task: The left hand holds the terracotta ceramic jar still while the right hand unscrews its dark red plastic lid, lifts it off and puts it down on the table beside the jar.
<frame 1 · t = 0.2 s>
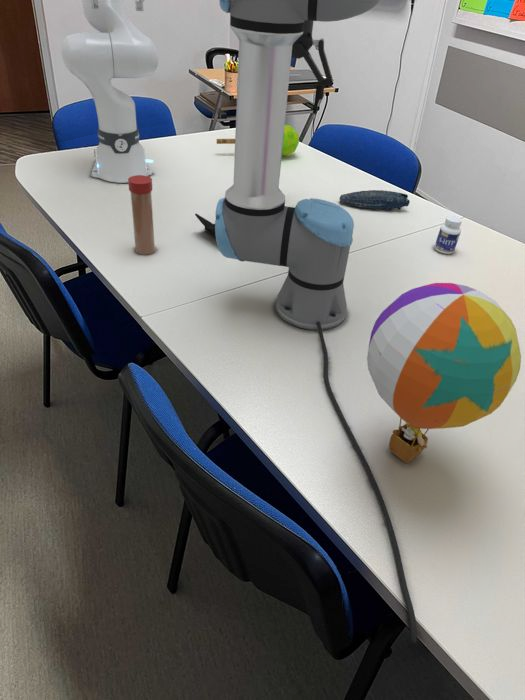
left hand: (117, 9, 113), 48 cm above the table, tool pointing down, fingers open, 8 cm apart
right hand: (288, 109, 135), 28 cm above the table, tool pointing down, fingers open, 13 cm apart
toy: (403, 453, 83), on the table
pill bottle: (443, 250, 140), on the table
handheld gaming console: (221, 237, 137), on the table
fish model: (372, 206, 160), on the table
jar: (145, 250, 128), on the table
lid: (140, 181, 117), point 17 cm above the table, screwed on, not yet turned
decorative tree: (257, 155, 189), on the table
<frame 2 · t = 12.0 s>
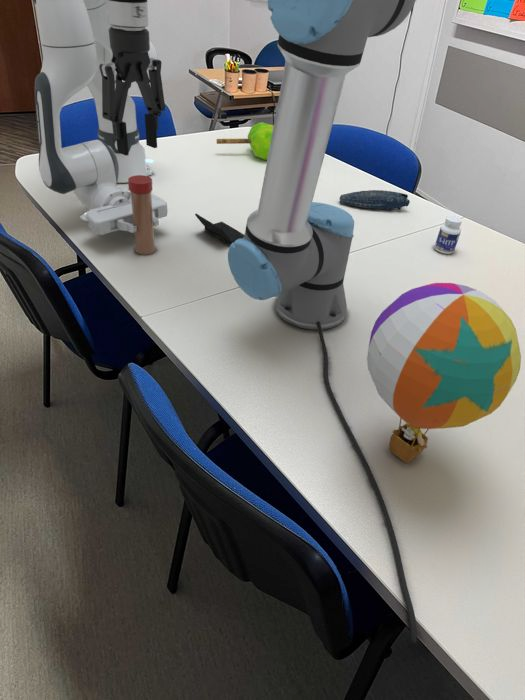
left hand: (145, 226, 124), 7 cm above the table, tool horizontal, fingers closed on jar, 5 cm apart
right hand: (137, 149, 113), 24 cm above the table, tool pointing down, fingers open, 7 cm apart
jar: (145, 250, 128), on the table, touching left hand
everything else where it was.
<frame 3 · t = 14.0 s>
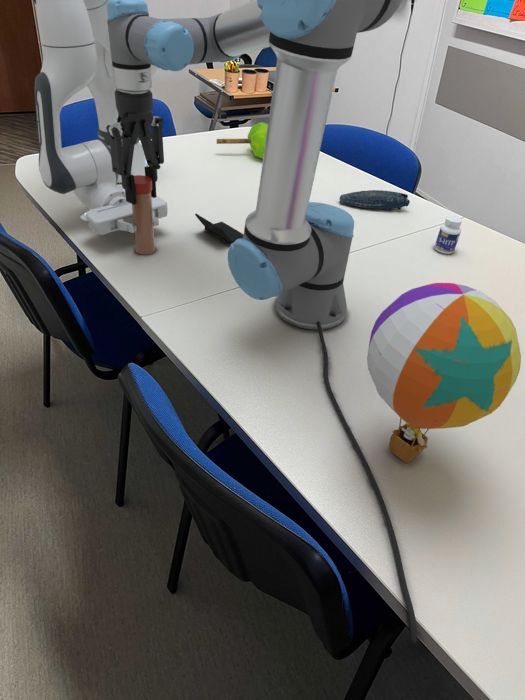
left hand: (145, 226, 124), 7 cm above the table, tool horizontal, fingers closed on jar, 5 cm apart
right hand: (141, 198, 120), 13 cm above the table, tool pointing down, fingers closed on lid, 5 cm apart
jar: (145, 250, 128), on the table, touching left hand
lid: (140, 181, 117), point 17 cm above the table, screwed on, not yet turned, touching right hand
everything else where it was.
when the right hand's fingers open (13 cm above the table, at t = 15.5 s): lid stays where it is, point 18 cm above the table.
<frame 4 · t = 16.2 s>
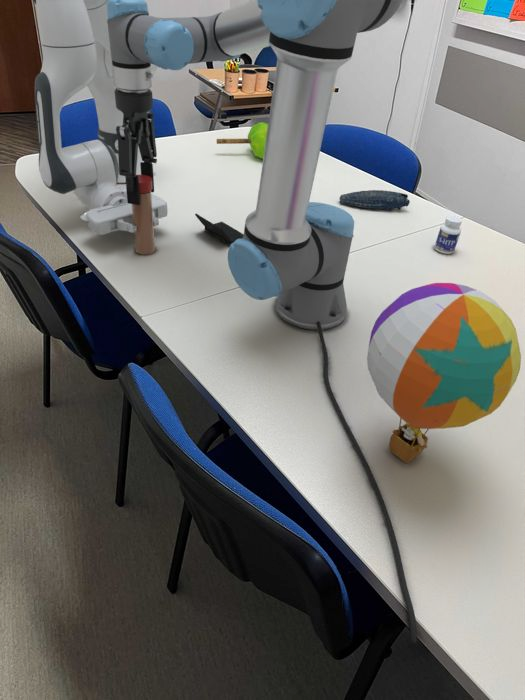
left hand: (145, 226, 124), 7 cm above the table, tool horizontal, fingers closed on jar, 5 cm apart
right hand: (141, 197, 120), 14 cm above the table, tool pointing down, fingers open, 7 cm apart
jar: (145, 250, 128), on the table, touching left hand
lid: (140, 180, 117), point 18 cm above the table, turned 109° so far, risen 0.2 cm, still on its thread
everything else where it was.
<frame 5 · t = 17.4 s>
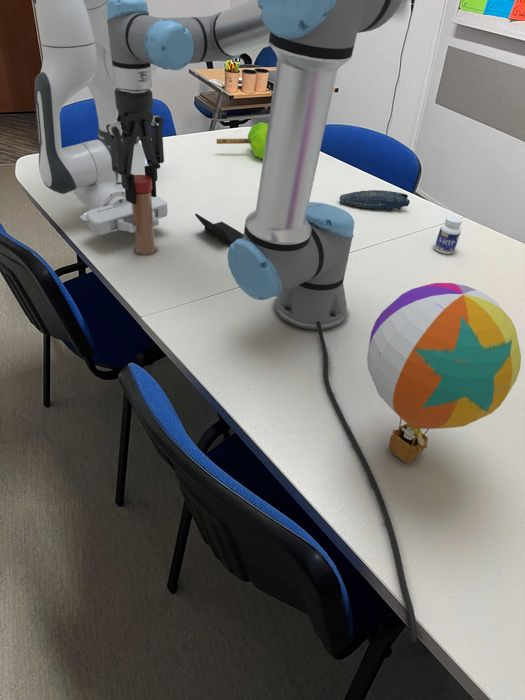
left hand: (145, 226, 124), 7 cm above the table, tool horizontal, fingers closed on jar, 5 cm apart
right hand: (141, 198, 120), 13 cm above the table, tool pointing down, fingers closed on lid, 5 cm apart
jar: (145, 250, 128), on the table, touching left hand
lid: (140, 180, 117), point 18 cm above the table, turned 109° so far, risen 0.2 cm, still on its thread, touching right hand
everything else where it was.
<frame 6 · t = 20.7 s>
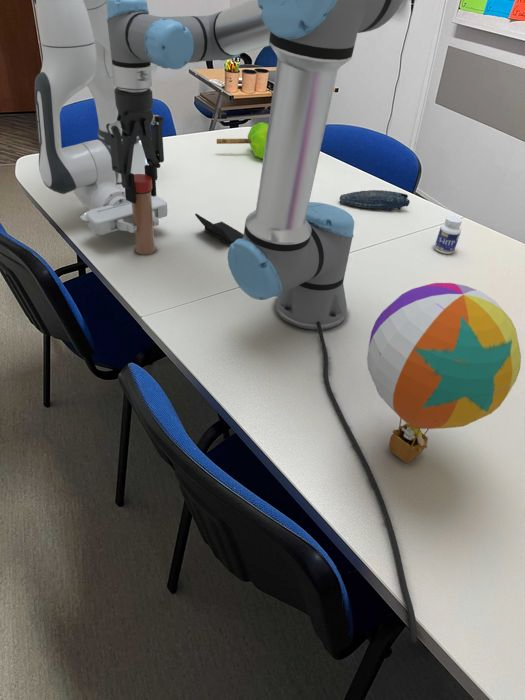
left hand: (145, 226, 124), 7 cm above the table, tool horizontal, fingers closed on jar, 5 cm apart
right hand: (141, 197, 120), 14 cm above the table, tool pointing down, fingers closed on lid, 5 cm apart
jar: (145, 250, 128), on the table, touching left hand
lid: (140, 179, 117), point 18 cm above the table, turned 218° so far, risen 0.3 cm, still on its thread, touching right hand
everything else where it was.
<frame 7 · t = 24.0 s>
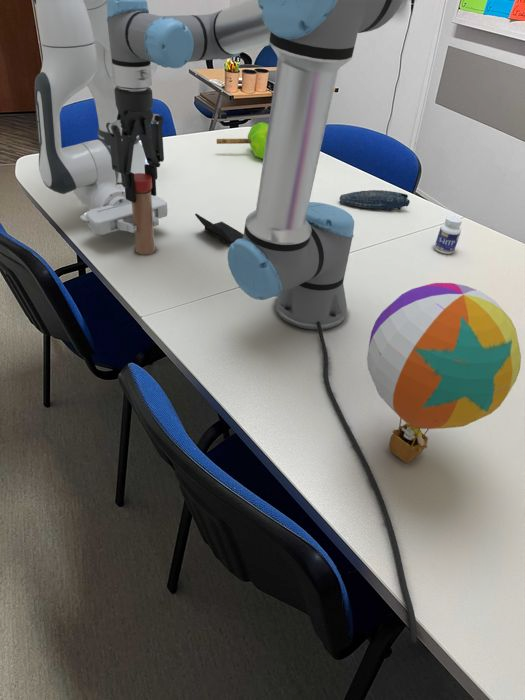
left hand: (145, 226, 124), 7 cm above the table, tool horizontal, fingers closed on jar, 5 cm apart
right hand: (141, 196, 120), 14 cm above the table, tool pointing down, fingers closed on lid, 5 cm apart
jar: (145, 250, 128), on the table, touching left hand
lid: (140, 178, 117), point 18 cm above the table, turned 326° so far, risen 0.5 cm, still on its thread, touching right hand
everything else where it was.
when the right hand's fingers open (0 cm above the table, at t = 30.5 s): lid stays where it is, point 2 cm above the table.
when the left hand's fingers open (7 cm above the table, at t = 31.5 s): jar stays where it is, on the table.
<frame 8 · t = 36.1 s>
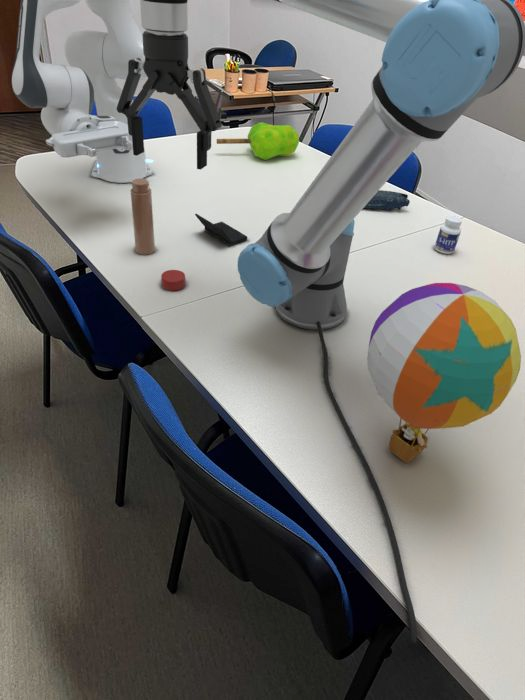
left hand: (112, 149, 121), 21 cm above the table, tool horizontal, fingers open, 8 cm apart
right hand: (169, 160, 99), 28 cm above the table, tool pointing down, fingers open, 13 cm apart
jar: (145, 250, 128), on the table
lid: (173, 277, 116), point 2 cm above the table, off its thread
everything else where it was.
at the end: lid came off its thread; lid point 1.9 cm above the table; the left hand is holding nothing; the right hand is holding nothing; jar tilted 0°; jar moved 0.0 cm from its start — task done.
